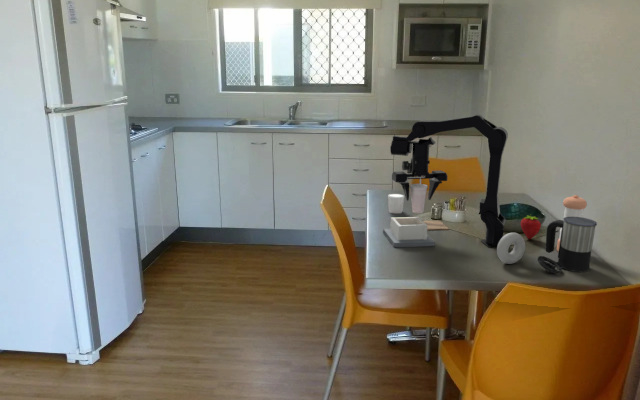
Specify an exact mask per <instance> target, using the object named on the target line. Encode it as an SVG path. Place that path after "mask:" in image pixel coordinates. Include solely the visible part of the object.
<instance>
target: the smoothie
mask: <svg viewBox="0 0 640 400" xmlns="http://www.w3.org/2000/svg"><path fill="white" fill-rule="evenodd" d="M409 190H410V198H411V208H412V210H411V211H412V213H413V214H422V213H424V208H425V203H426V202H425V201H426V196H427V190H429V185H428V184H423V183H422V179H419V183H412V184H409Z"/></svg>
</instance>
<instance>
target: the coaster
mask: <svg viewBox="0 0 640 400" xmlns="http://www.w3.org/2000/svg"><path fill="white" fill-rule="evenodd" d="M422 221H423V222H424V223H425V224H426V225H427V231H442V230H443V231H446V230H448V231H449V230H450V228H449V227H448V226H446V225H445V224H444V223H443V222H442V221H441V220H439V219H437V220H436V219H435V220H422Z"/></svg>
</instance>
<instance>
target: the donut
mask: <svg viewBox="0 0 640 400" xmlns="http://www.w3.org/2000/svg"><path fill="white" fill-rule="evenodd" d="M511 245H513V248H512V249H511V251H510V252H509V249H510V246H511ZM525 250H526V242H525V238H523V236H522V235H521V234H519V233H517V232H509V233H506V234H503V237H502V238H501V240H500V241H499V243H498V246H497V247H496V254H497V257H498V259H499V260H500V261H501V262H502V263H504V264H508V265H511V264H515V263H517V262H519V260H521V258H522V257H523V256H524V254H525Z"/></svg>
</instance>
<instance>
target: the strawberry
mask: <svg viewBox="0 0 640 400" xmlns="http://www.w3.org/2000/svg"><path fill="white" fill-rule="evenodd" d="M541 224H542V223H541V222H540V221H539V217H536V216H532V215H527V216H525V217H523V218H522V219H521V221H520V228H521V230H522V232H523V234H524V235H525V237H526V239H527V240H532V239H533V238H535V236H536V235H537V234H538V233H539V232H540V230H541V229H542V226H541Z"/></svg>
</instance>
